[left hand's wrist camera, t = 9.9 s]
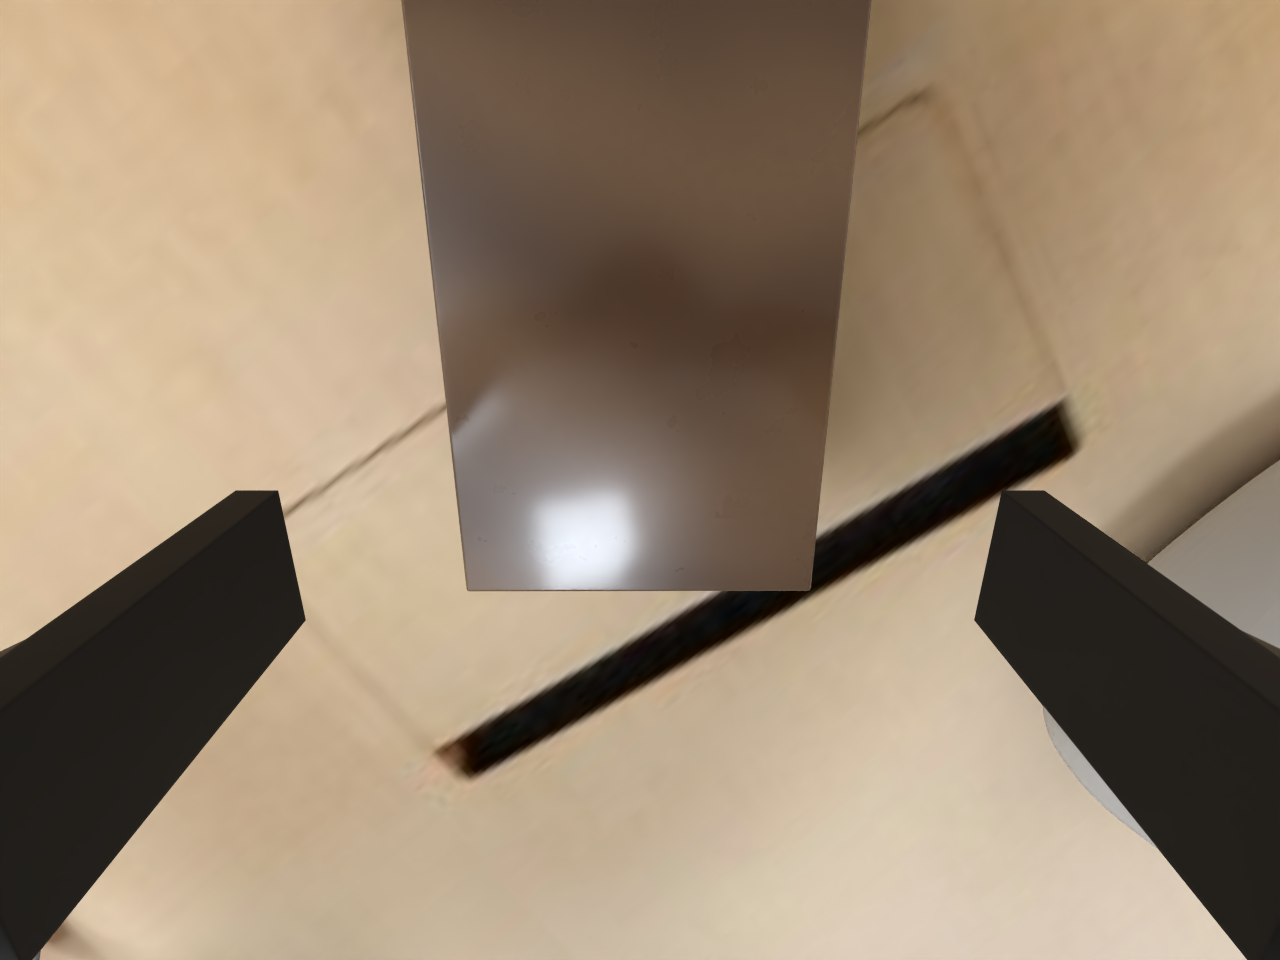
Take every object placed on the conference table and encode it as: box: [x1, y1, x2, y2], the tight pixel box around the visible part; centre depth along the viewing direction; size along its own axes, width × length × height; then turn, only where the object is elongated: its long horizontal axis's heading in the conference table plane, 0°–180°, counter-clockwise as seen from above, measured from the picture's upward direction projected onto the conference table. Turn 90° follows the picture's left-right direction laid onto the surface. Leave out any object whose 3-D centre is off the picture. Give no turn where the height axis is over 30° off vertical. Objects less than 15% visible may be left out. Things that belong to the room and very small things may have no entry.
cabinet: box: [401, 0, 871, 591], centre depth 21 cm, size 18×10×9 cm, turn 0°
